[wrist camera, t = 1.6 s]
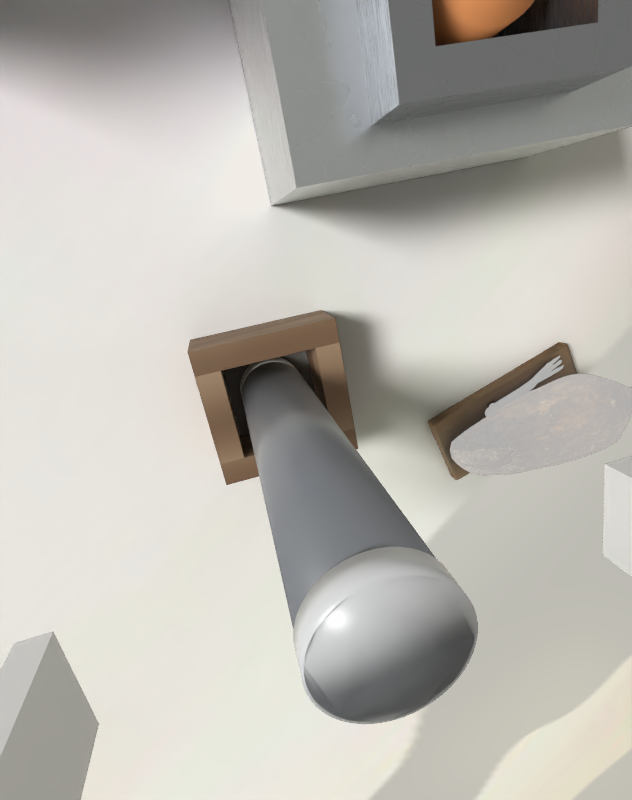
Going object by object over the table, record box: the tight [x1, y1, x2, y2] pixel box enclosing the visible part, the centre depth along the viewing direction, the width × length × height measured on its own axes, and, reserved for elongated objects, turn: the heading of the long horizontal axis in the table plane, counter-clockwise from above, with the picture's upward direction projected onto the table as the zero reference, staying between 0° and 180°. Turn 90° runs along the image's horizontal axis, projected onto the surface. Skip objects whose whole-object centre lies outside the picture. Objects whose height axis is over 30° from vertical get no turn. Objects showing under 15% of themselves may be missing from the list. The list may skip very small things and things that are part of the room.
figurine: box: [428, 342, 632, 480], centre depth 25 cm, size 14×4×9 cm, turn 118°
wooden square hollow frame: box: [188, 310, 358, 485], centre depth 24 cm, size 7×7×3 cm
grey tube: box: [240, 357, 478, 724], centre depth 17 cm, size 4×4×18 cm
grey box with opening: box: [229, 0, 632, 206], centre depth 17 cm, size 14×11×10 cm
